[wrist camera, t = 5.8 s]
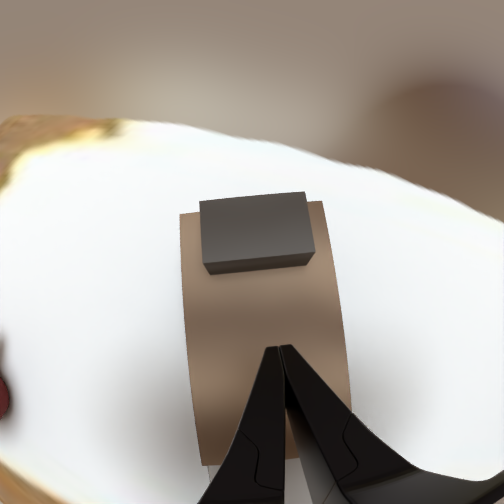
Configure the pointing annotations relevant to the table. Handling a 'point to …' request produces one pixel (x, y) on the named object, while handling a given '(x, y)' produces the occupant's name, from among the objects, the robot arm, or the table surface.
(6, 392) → the mug
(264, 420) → the robot arm
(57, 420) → the table surface
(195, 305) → the plank
